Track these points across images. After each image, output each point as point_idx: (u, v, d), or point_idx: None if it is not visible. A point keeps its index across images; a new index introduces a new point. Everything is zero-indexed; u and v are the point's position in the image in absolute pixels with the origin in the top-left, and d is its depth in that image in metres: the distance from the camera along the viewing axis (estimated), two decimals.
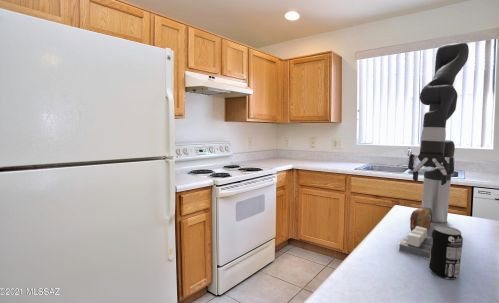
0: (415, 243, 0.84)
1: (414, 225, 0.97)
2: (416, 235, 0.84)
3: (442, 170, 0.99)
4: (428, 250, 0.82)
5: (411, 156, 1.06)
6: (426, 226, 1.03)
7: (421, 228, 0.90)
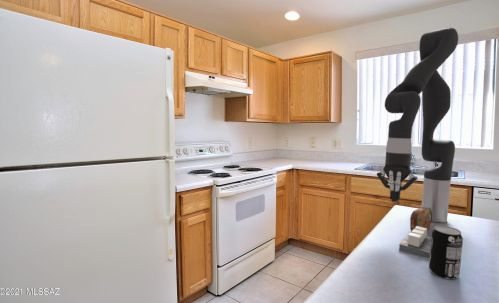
0: (415, 243, 0.84)
1: (414, 225, 0.97)
2: (416, 235, 0.84)
3: (397, 186, 0.93)
4: (428, 250, 0.82)
5: (378, 175, 0.97)
6: (426, 226, 1.03)
7: (421, 228, 0.90)
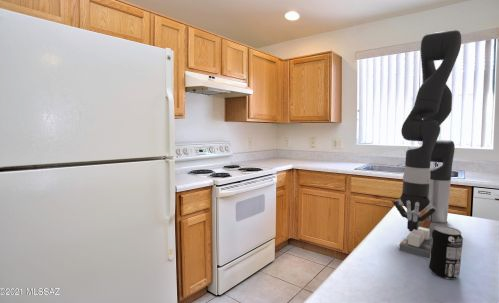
0: (415, 243, 0.84)
1: None
2: (416, 235, 0.84)
3: (415, 216, 0.90)
4: (428, 250, 0.82)
5: (395, 203, 0.94)
6: (426, 226, 1.03)
7: (424, 229, 0.90)
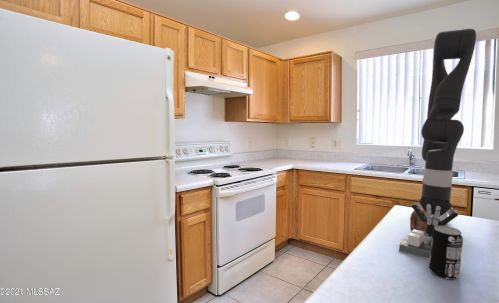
0: (415, 243, 0.84)
1: (414, 225, 0.97)
2: (416, 235, 0.84)
3: (436, 220, 0.87)
4: (428, 250, 0.82)
5: (414, 207, 0.90)
6: (426, 226, 1.03)
7: None
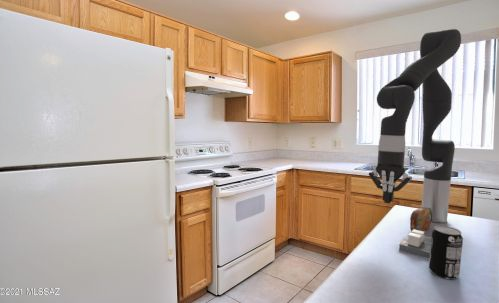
0: (415, 243, 0.84)
1: (414, 225, 0.97)
2: (416, 235, 0.84)
3: (390, 186, 0.88)
4: (428, 250, 0.82)
5: (370, 174, 0.91)
6: (426, 226, 1.03)
7: None
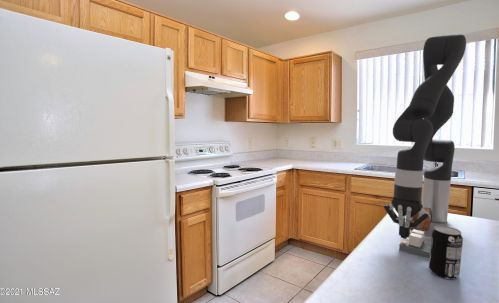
0: (416, 243, 0.83)
1: None
2: (417, 235, 0.84)
3: (407, 222, 0.85)
4: (428, 250, 0.82)
5: (386, 208, 0.89)
6: (426, 226, 1.03)
7: None
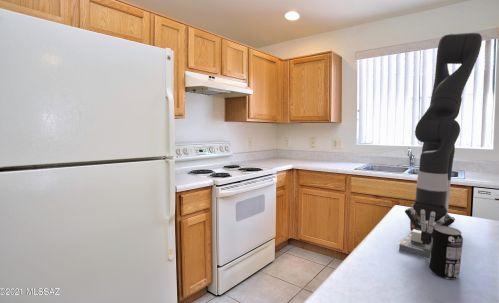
0: None
1: None
2: None
3: (430, 227, 0.81)
4: (428, 250, 0.82)
5: (407, 212, 0.85)
6: None
7: None
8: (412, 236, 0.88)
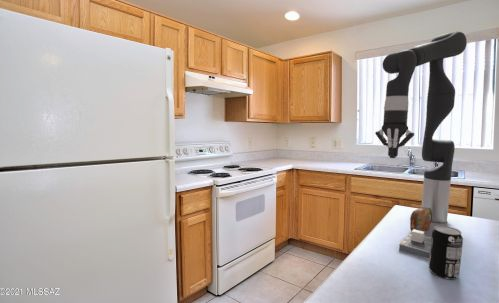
0: None
1: (414, 225, 0.97)
2: None
3: (395, 142, 0.98)
4: (428, 250, 0.82)
5: (377, 133, 1.02)
6: (426, 226, 1.03)
7: None
8: (412, 236, 0.88)
